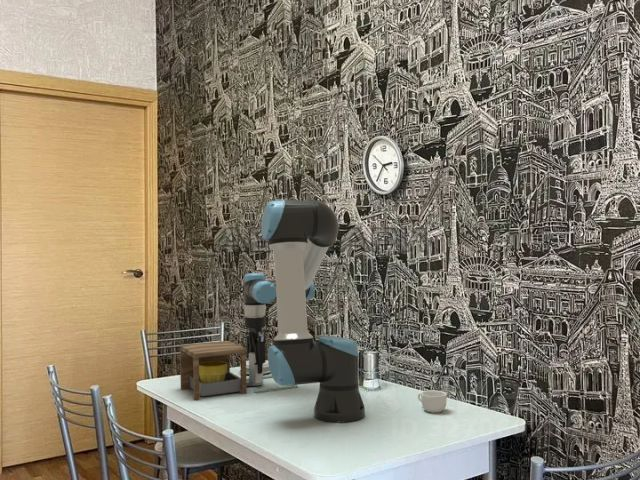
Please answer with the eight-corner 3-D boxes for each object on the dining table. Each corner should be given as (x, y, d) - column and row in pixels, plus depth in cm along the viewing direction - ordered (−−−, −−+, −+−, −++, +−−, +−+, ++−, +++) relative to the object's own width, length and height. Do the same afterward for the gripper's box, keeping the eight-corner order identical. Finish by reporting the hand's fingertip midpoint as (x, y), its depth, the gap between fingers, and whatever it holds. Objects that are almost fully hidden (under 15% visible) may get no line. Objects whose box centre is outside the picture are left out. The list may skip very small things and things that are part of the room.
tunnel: (246, 393, 215) (245, 348, 215) (194, 400, 207) (194, 353, 207) (229, 382, 232) (228, 340, 231) (180, 388, 223) (179, 345, 223)
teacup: (452, 411, 191) (452, 393, 191) (436, 416, 186) (436, 398, 186) (426, 404, 198) (426, 387, 198) (410, 409, 193) (410, 392, 193)
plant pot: (230, 387, 224) (230, 360, 224) (223, 395, 214) (223, 366, 214) (202, 387, 225) (202, 360, 225) (193, 394, 215) (193, 366, 215)
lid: (247, 369, 256) (247, 356, 256) (276, 370, 253) (276, 358, 253) (235, 376, 244) (234, 363, 244) (265, 377, 240) (265, 364, 240)
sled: (270, 387, 222) (269, 355, 221) (201, 396, 210) (201, 363, 210) (255, 378, 235) (254, 349, 234) (189, 387, 223) (189, 356, 223)
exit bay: (298, 387, 223) (298, 385, 223) (255, 393, 216) (255, 391, 216) (275, 376, 242) (275, 374, 242) (235, 381, 234) (235, 379, 234)
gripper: (274, 318, 220) (275, 384, 221) (255, 312, 236) (256, 374, 237) (254, 319, 217) (255, 387, 217) (236, 314, 233) (237, 377, 233)
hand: (256, 380), depth 227 cm, fingers closed on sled, 5 cm apart
